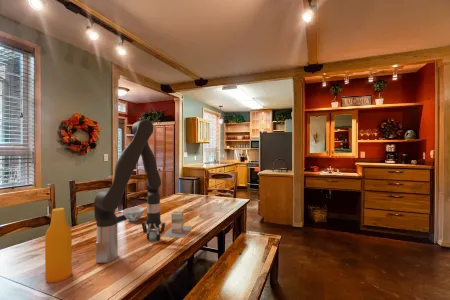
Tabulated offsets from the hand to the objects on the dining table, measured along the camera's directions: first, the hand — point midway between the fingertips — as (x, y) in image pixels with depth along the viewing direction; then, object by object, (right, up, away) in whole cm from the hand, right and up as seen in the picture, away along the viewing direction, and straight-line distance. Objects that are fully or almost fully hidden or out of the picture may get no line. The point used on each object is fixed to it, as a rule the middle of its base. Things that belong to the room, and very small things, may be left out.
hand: (153, 239), depth 133 cm
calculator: (-41, -1, +43) cm, 59 cm away
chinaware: (-27, -1, +40) cm, 49 cm away
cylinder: (0, -1, 0) cm, 1 cm away
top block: (+11, +6, +13) cm, 18 cm away
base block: (+11, 0, +13) cm, 17 cm away
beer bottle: (-29, -2, -35) cm, 46 cm away
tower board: (+11, -1, +13) cm, 17 cm away
